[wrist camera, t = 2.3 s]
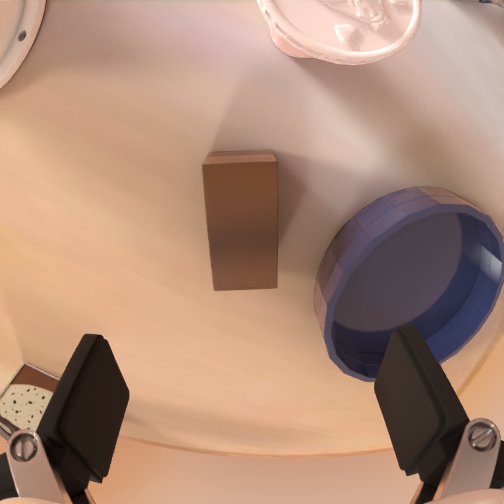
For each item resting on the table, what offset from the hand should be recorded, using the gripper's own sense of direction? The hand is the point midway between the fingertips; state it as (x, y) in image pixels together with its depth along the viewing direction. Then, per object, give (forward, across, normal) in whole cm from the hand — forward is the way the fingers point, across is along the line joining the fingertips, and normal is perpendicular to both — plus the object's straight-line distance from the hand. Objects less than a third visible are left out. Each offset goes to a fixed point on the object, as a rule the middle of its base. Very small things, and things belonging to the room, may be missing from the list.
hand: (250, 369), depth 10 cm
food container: (+14, +25, +22) cm, 36 cm away
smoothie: (+14, -4, -13) cm, 19 cm away
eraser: (+14, 0, -1) cm, 14 cm away
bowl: (+14, -14, +6) cm, 21 cm away
